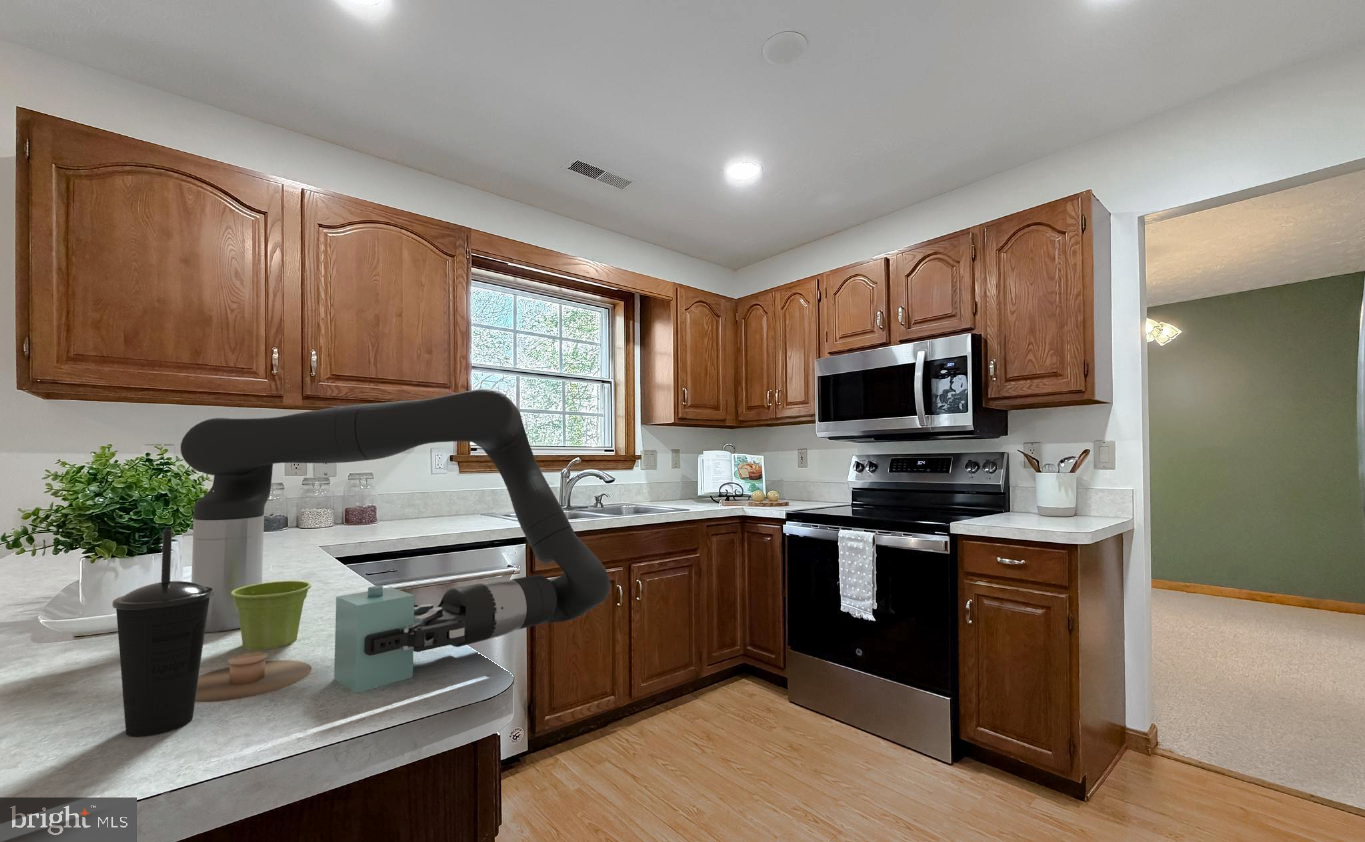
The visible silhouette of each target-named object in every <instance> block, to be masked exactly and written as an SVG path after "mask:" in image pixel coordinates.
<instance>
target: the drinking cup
mask: <svg viewBox="0 0 1365 842" xmlns="http://www.w3.org/2000/svg"><path fill="white" fill-rule="evenodd" d="M172 538H173V529H166V530H162V551H161V552H162V553H161V573H160V574H161V579H160V582H155V583H151V584H147V585H144V586H141V587H138V588H136V589H133V590H132V591H129V592H128V593H126V594H125V595H122V596H119V597H117V598H115V599H114V600H113V601H112V604H111V605H112V608H113V609H116V623H117V635H118V637H117V638H118V647H119V648H118V649H119V663H120V674H121V687H122V699H123V700H122V702H123V710H124V711H123V713H124V714H123V715H124V725H125V735H126V736H128V737H131V738H145V737H153V736H159V735H162V734H167V733H170V732H172V731H176V730H178V729H180V728H183V727H185V726H187V725H188V724H190V723H191V722H192V721H193V719H194V718H193V717H194V710H195V703H196V702H195V697H196V690H197V683H198V676H200V669H201V668H200V667H201V662H202V654H203V649H204V648H203V647H204V639H205V633H206V632H205V628H206V621H207V614H208V607H209V600H210V597H211V596H212V595H213V592H214V590H213V589H212V588H210V587H204V586H201V585H199V584H196V583H191V581H182V580H181V581H180V580H171V567H172V565H171V564H172V543H173V542H172V540H173V539H172Z"/></svg>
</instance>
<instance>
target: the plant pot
mask: <svg viewBox="0 0 1365 842" xmlns="http://www.w3.org/2000/svg"><path fill="white" fill-rule="evenodd" d="M311 588H312V583H311V582H309V581H303V580H279V581H269V582H268V581H267V582H262V583H260V584H254V585H249V586H244V587H241V588H238V589H235V590H233V591H232V592H231V595H232V596H233V597H235V603H236V606H237V607H238V612H239V619H240V627H241V628H240V636H241V642H242V648H243V649H244V650H247V651H264V650H272V649H277V648H281V647H285V646H288V645H291V644H293V643H295V642H297V640H298V637H299V636H298V633H299V628H300V624H301V617H302V613H303V607H304V602H305V600H306V598H307V595H308V591H309V589H311Z"/></svg>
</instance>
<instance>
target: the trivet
mask: <svg viewBox="0 0 1365 842" xmlns="http://www.w3.org/2000/svg"><path fill="white" fill-rule="evenodd" d="M311 673H312V666H311V665H310V664H309V663H307V662H305V661H300V660H293V659H292V660H290V659H278V660H277V659H274V660H265V677H264V678H262V679H260V680H258V681H255V682H251V683H247V684H230V683H229V678H230V666H228V667H224V668H223V667H222V668H221V669H217V670H213V671H209V672H207V673H204V674H201V675H199V676H198V683H197V690H196V697H195V703H215V702H226V701H234V700H239V699H240V700H241V699H245V698H252V697H256V696H259V695H264V694H268V693H270V692H271V693H272V692H275V691H278V690H280V689H284V688H286V687H289V686H292V685H294V684H296V683H298V682H300V681H301V680H303V679H305V678H306V677H308V676H309V675H310V674H311Z"/></svg>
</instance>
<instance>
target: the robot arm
mask: <svg viewBox="0 0 1365 842" xmlns="http://www.w3.org/2000/svg"><path fill="white" fill-rule="evenodd" d="M451 442H454V443H455V442H461V443H462V442H465V443H466V442H467V443H474V445H476V446H478V447H480V448H481V449H482V450H483V451H484V453H485V454H486V456H487V457H488V458H489V459H490V461H491V462H492V463H493V465H494V466H495V468H496V469H497V471H498V472H499V474H500V476H501V478H502V481H503V482H504V485H505V486H506V490H507V492H508V496H509V498H510V500H511V505H512V507H513V510H514V513H515V516H516V518H517V519H516V520H517V521H518V525H520V528H521V530H522V532H523V534H524V537H525V538H526V540H527V542H528V544H529V545H530V548H531V549H532V552H533V553H534V555H535V557H536V559H537V560H538V561H539V562H541V563H542V564H549V563H553V562H554V563H555V564H556V565H557V566H559V567H558V568H560V569H561V571H563V573H562V574H561V575H559V576H556V577H554V578H550V579H549V578H548V577H546V576H543V575H530V576H524V577H519V578H518V577H517V578H512V579H507V580H505V579H503V580H502V579H499V580H498V579H497V580H491V581H486V582H480V583H474V584H467V585H463V586H458V587H452V588H450V589H448V590H446V591H445V593H444V594H443V595H442V597H441V600H440V602H439V604H438V605H437V606H434V604H433V603H428V604H427V603H426V604H420V605H419V603H416V602H414V624H412V625H407V626H404V627H402V628H401V632H400V629H398V628H397V629H393V630H388V631H383V632H379V633H374V634H370V635H367V636H366V637H365V641H364V652H365V654H367V655H369V656H371V655H375V654H380V653H384V652H388V651H392V650H396V649H400V647H401V649H402V650H409V649H411V648H413V653H414V652H415V653H421V652H425V651H429V650H432V649H436V648H437V649H438V648H443V647H447V646H452V647H453V648H454V647H455V648H460V647H464V646H469V645H472V644H476V643H479V642H482V641H483V642H484V641H486V640H491V639H495V638H499V637H502V636H505V635H508V634H510V633H513V632H515V631H518V630H523V629H526V628H531V627H534V626H537V625H541V624H550V623H561V622H562V623H563V622H566V621H570V620H574V619H576V618H579V617H581V616H583V615H585V613H588V612H589V611H591V610H592V609H594V608H596V607H597V606H600V605H601V604H602V603H604V601H606V599H607V598H608V596H609V594H610V591H611V582H610V577H609V574H608V572H607V569H606V568H605V566H604V564H603V563H602V562H601V561H600V559H599V558H598V557H597V556H596V555H595V553H594V552H593V551H591V549H590V548H589V547H588V546H587V544H585V543H584V541H582V540H581V538H579V536H577V533H575V531H574V529H573V527H572V525H571V523H570V521H569V519H568V517H567V515H566V513H565V512H564V510H563V508H562V506H561V505H560V502H559V501H558V499H557V498H556V495H555V494H554V492H553V491H552V488H551V487H550V485H549V483H548V481H547V479H546V478H545V476H544V475H543V472H542V471H541V468H540V467H539V464H538V462H537V460H536V458H535V454H534V453H533V449H532V447H531V444H530V441H529V439H528V436H527V431H526V429H525V425H524V422H523V419H522V415H521V413H520V410H519V408H518V407H517V405H516V404H515V403H513V401H512V400H511V399H510V398H509V397H508V396H507V395H506V394H504V393H503V392H501V391H499V390H497V389H492V388H477V389H471V390H468V391H467V390H466V391H462V392H457V393H453V394H448V395H443V396H442V395H441V396H437V397H433V398H426V399H416V400H399V401H387V402H377V403H376V402H375V403H363V404H352V405H350V404H349V405H344V406H336V407H335V406H334V407H329V408H328V407H327V408H322V409H316V410H310V411H309V410H308V411H305V412H298V413H293V414H288V415H283V416H282V415H281V416H274V417H263V418H259V417H257V418H227V417H214V418H209V419H205V420H202V421H201V422H199V423H197V424H195V425H194V426H192V427H190V429H189V430H188V431H187V432H186V433H185V435H184V436H183V437H182V440H181V443H180V454H181V456H182V459H183V460H184V461H185V463H186V464H187V465H188V466H190V467H191V468H192V469H194V470H195V471H198V472H199V473H203V474H205V475H209V476H213V480H212V481H213V482H212V486H211V487H210V489H209V490H208V491H207V493H205V495H204V496H202V497H200V498H199V499H197V501H196V502H195V503H194V507H193V523H192V526H193V527H192V555H191V557H192V558H191V578H190V579H191V580H190V582H191V583H196V584H199V585H201V586H204V587H210V588H212V589H213V590H214V592H213V595H212V596H211V597H210V600H209V607H208V614H207V621H206V628H205V633H211V632H222V631H223V632H224V631H229V630H235V629H241V627H240V619H239V612H238V607H237V606H236V603H235V597H233V596H232V595H231V592H232V591H233V590H235V589H238V588H241V587H244V586H249V585H254V584H260V583H263V566H264V565H263V563H264V538H265V537H264V536H265V535H264V533H265V532H264V529H265V527H264V526H265V524H264V523H265V509H266V508H265V506H266V504H267V502H268V500H269V498H270V496H271V495H270V494H271V490H272V480H273V468H274V466H273V465H274V464H284V463H285V464H286V463H287V464H338V463H339V464H341V463H343V464H344V463H353V462H354V463H356V462H357V463H358V462H363V461H365V462H366V461H373V460H381V459H385V458H389V457H392V456H394V455H399V454H401V453H404V452H406V451H409V450H411V449H413V448H417V447H419V446H422V445H423V446H424V445H427V444H435V443H451ZM213 490H214V492H212V491H213Z"/></svg>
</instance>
